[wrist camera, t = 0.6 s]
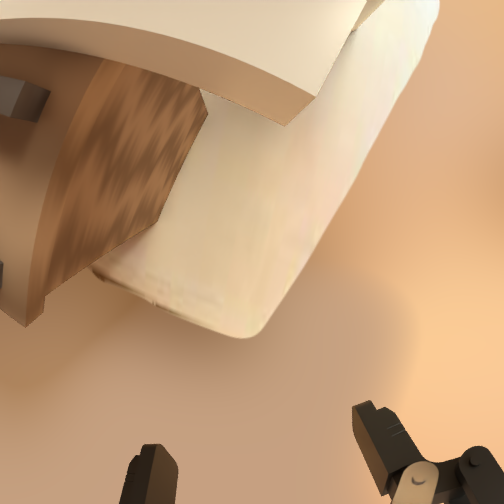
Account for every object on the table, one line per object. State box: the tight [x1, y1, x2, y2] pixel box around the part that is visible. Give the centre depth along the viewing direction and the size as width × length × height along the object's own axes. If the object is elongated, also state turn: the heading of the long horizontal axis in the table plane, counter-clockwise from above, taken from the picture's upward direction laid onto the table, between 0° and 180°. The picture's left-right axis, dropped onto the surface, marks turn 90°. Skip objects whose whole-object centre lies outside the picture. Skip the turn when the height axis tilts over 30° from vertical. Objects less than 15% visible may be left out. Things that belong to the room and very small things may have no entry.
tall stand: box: [0, 44, 208, 328], centre depth 22 cm, size 19×11×34 cm, turn 154°
